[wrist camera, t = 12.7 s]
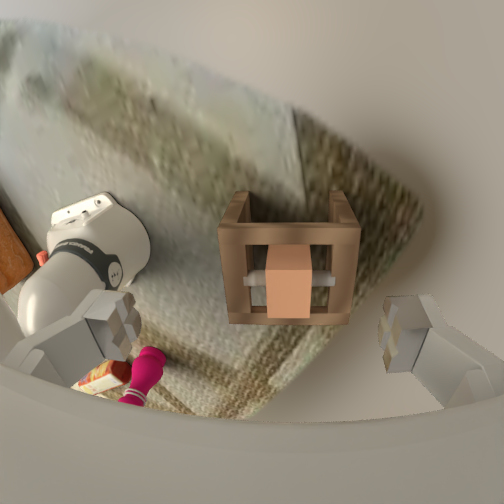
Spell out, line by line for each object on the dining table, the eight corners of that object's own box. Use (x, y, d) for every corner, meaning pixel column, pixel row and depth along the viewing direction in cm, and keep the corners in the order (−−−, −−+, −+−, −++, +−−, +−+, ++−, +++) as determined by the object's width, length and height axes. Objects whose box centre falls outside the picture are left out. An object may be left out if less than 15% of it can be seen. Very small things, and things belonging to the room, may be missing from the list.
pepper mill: (172, 365, 68) (146, 435, 51) (147, 365, 70) (118, 430, 52) (161, 344, 65) (130, 417, 48) (134, 344, 67) (101, 411, 49)
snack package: (99, 384, 79) (90, 400, 74) (82, 370, 77) (73, 386, 71) (136, 368, 72) (127, 387, 66) (117, 351, 69) (107, 371, 64)
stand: (242, 270, 53) (229, 324, 41) (235, 191, 46) (216, 229, 35) (336, 270, 51) (348, 325, 39) (342, 190, 44) (361, 229, 33)
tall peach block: (271, 280, 44) (267, 317, 37) (269, 236, 40) (265, 270, 33) (307, 280, 43) (309, 318, 36) (308, 236, 40) (312, 270, 33)
